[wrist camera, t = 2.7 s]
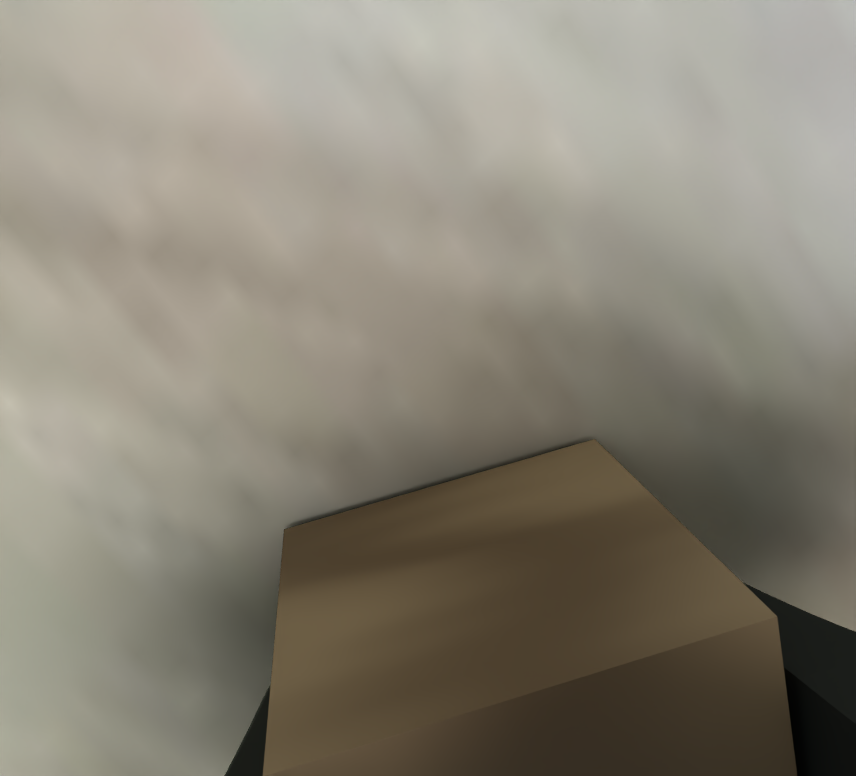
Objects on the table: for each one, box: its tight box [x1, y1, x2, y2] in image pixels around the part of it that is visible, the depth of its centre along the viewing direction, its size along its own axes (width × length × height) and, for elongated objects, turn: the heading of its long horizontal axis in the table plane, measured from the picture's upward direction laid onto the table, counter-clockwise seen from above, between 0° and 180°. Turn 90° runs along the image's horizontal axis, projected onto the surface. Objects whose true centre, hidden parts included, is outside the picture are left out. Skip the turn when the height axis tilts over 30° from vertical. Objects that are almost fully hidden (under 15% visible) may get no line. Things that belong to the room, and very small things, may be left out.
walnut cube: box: [263, 439, 797, 776], centre depth 10 cm, size 5×5×5 cm
